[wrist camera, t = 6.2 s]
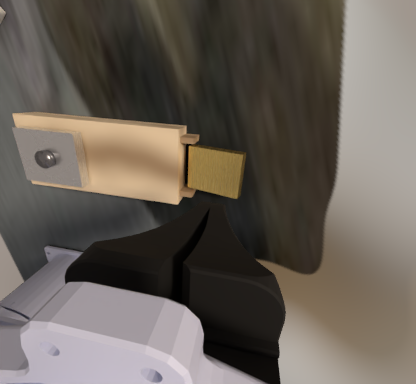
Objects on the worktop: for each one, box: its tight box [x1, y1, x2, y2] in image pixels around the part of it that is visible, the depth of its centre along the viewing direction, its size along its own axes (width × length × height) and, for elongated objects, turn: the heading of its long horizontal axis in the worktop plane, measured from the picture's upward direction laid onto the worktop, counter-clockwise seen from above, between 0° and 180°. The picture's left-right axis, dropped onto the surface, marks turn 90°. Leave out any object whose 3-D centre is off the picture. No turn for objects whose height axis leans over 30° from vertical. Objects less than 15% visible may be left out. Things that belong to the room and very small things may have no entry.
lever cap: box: [12, 126, 89, 187], centre depth 20 cm, size 5×6×2 cm
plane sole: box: [13, 112, 199, 204], centre depth 21 cm, size 7×17×2 cm, turn 87°
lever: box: [188, 144, 246, 199], centre depth 20 cm, size 4×1×5 cm
